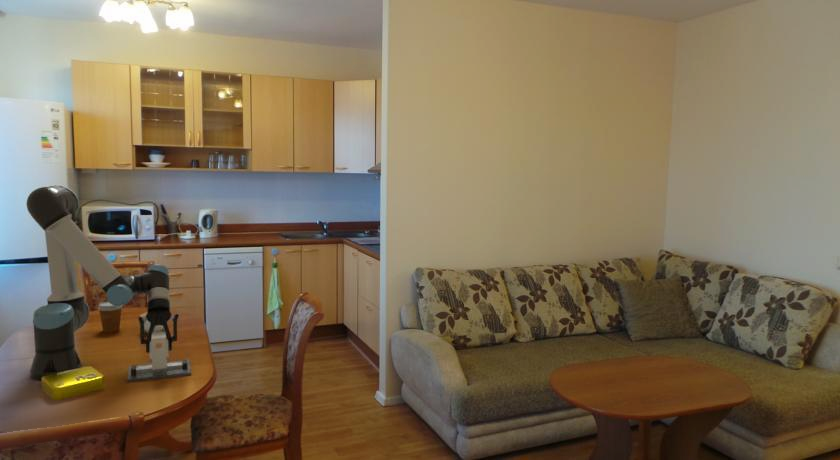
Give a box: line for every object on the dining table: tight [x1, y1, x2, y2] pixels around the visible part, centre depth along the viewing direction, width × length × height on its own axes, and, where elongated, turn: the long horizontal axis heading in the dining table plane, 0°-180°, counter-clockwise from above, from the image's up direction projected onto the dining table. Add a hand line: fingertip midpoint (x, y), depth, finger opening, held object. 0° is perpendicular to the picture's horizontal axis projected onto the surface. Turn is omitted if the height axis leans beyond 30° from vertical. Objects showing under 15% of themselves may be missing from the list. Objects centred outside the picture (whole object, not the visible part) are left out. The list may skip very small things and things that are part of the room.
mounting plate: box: [126, 358, 192, 383], centre depth 201 cm, size 20×14×3 cm
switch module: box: [151, 330, 168, 370], centre depth 200 cm, size 9×4×11 cm, turn 24°
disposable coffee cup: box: [97, 301, 123, 333], centre depth 248 cm, size 10×10×12 cm
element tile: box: [41, 365, 106, 401], centre depth 185 cm, size 15×15×5 cm
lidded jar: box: [139, 312, 164, 334], centre depth 248 cm, size 11×11×9 cm
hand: (159, 359), depth 197 cm, fingers closed on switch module, 4 cm apart
